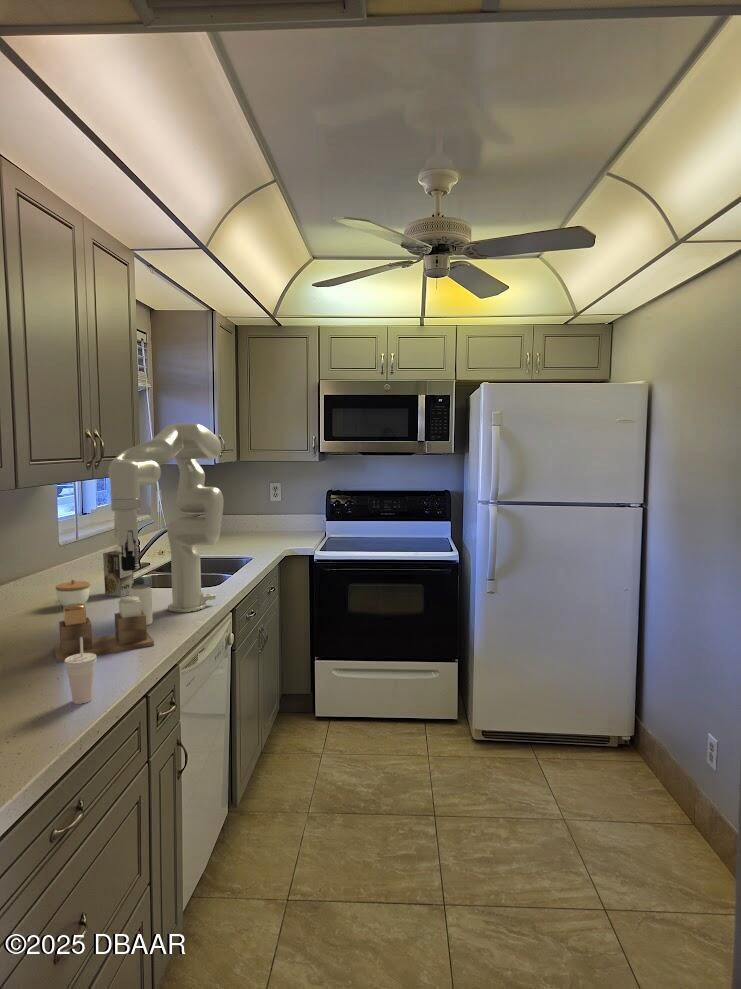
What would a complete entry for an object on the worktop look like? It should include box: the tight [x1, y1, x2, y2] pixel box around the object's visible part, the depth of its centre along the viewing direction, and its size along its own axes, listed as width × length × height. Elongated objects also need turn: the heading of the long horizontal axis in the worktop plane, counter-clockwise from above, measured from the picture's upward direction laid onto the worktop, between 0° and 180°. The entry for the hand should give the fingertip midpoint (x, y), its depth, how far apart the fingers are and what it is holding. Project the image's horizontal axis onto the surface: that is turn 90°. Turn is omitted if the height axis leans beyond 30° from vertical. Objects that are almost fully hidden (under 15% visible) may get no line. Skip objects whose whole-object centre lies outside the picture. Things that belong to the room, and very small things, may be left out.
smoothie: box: [64, 637, 98, 705], centre depth 128 cm, size 6×6×14 cm
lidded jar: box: [55, 579, 91, 607], centre depth 205 cm, size 11×11×9 cm
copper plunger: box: [62, 603, 87, 627], centre depth 158 cm, size 5×5×8 cm
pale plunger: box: [118, 595, 141, 618], centre depth 166 cm, size 5×5×8 cm
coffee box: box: [102, 550, 135, 598], centre depth 221 cm, size 9×6×16 cm
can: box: [129, 584, 154, 627], centre depth 184 cm, size 6×6×12 cm
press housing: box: [53, 610, 155, 663], centre depth 163 cm, size 24×12×8 cm, turn 122°
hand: (128, 569), depth 165 cm, fingers closed
